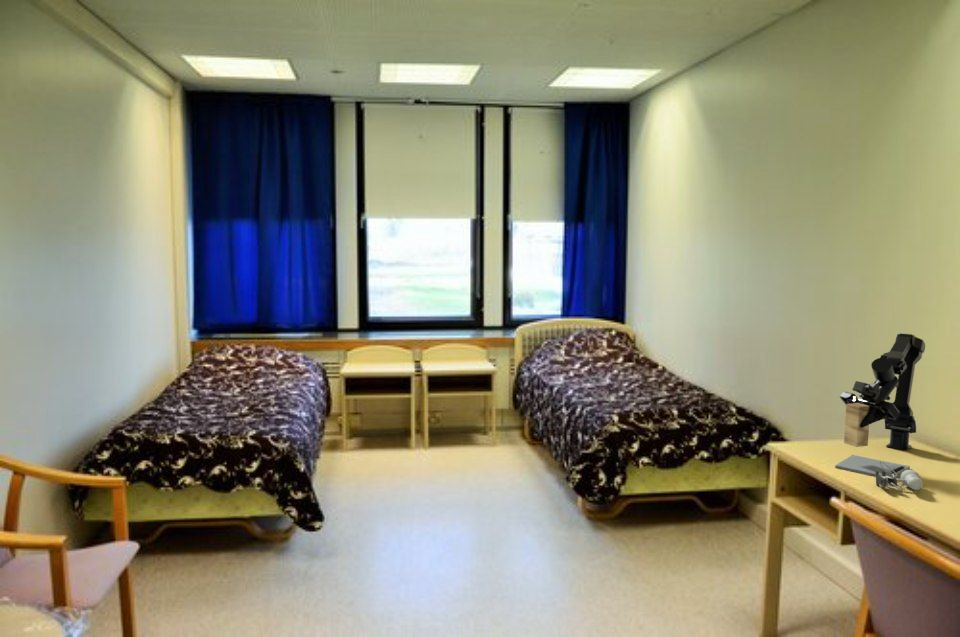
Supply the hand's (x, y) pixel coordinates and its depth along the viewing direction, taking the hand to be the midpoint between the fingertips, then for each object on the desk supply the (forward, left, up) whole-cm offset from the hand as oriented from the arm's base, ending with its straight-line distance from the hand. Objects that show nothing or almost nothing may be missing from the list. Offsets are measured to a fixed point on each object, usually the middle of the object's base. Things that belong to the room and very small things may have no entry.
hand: (853, 424), depth 224 cm
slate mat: (-2, +6, -14) cm, 15 cm away
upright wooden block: (-1, +1, -7) cm, 7 cm away
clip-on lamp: (+10, +16, -13) cm, 23 cm away
